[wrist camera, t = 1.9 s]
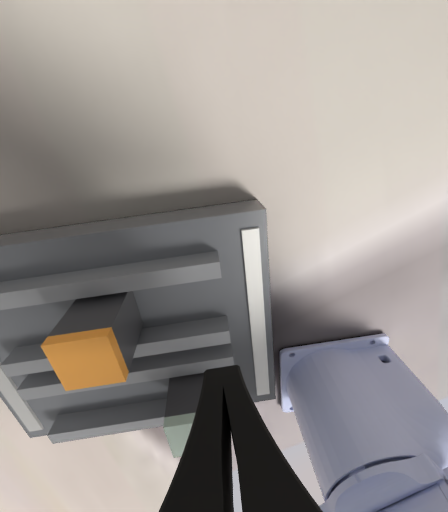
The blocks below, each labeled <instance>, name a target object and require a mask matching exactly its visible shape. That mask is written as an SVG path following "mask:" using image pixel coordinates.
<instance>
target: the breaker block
mask: <svg viewBox="0 0 448 512" xmlns="http://www.w3.org/2000/svg"><path fill="white" fill-rule="evenodd" d="M129 291H133V294H134V297H135V300H136V303H137V306H138V309H139V313H140V316H141V319H142V322H143V327H142V330H141V333H140V337H139V340H138V343H137V347H136V350H135V353H134V356H133V360H132V363H131V366H130V370H129V373H128V376H127V380H126V382H122V383H115V384H109V385H102V386H96V387H89V388H83V389H76V390H70V391H65V389H64V387H63V385H62V384H61V382H60V380H59V378H58V377H57V375H56V373H55V371H54V369H53V368H52V366H51V364H50V362H49V360H48V359H47V357H46V355H45V353H44V351H43V350H42V348H41V345H42V343H43V342H44V341H45V339H46V338H47V337H48V335H49V334H50V333H51V331H52V330H53V329H54V327H55V326H56V325H57V324H58V322H59V321H60V320H61V318H62V317H63V316H64V314H65V313H66V312H67V310H68V309H69V308H70V306H71V305H72V304H73V302H74V301H75V300H76V299H81V298H88V297H94V296H101V295H108V294H115V293H122V292H129ZM232 365H238V366H240V369H241V373H242V376H243V379H244V382H245V384H246V387H247V389H248V391H249V394H250V396H251V398H252V400H253V402H259V401H265V400H271V399H276V396H275V376H274V356H273V336H272V317H271V297H270V277H269V257H268V237H267V217H266V209H265V207H264V206H263V205H262V204H261V203H260V202H259V201H258V200H257V199H255V200H248V201H241V202H234V203H227V204H219V205H212V206H205V207H198V208H191V209H183V210H176V211H169V212H162V213H154V214H147V215H140V216H133V217H126V218H118V219H111V220H104V221H97V222H90V223H82V224H75V225H68V226H61V227H53V228H46V229H39V230H32V231H25V232H17V233H10V234H3V235H0V397H1V398H2V400H3V401H4V403H5V404H6V405H7V407H8V408H9V409H10V411H11V412H12V414H13V415H14V416H15V418H16V419H17V420H18V422H19V423H20V425H21V426H22V427H23V429H24V430H25V431H26V433H27V434H28V436H29V437H30V438H32V437H38V436H44V435H47V436H48V438H49V439H50V440H51V442H52V443H53V444H54V443H60V442H67V441H73V440H79V439H85V438H92V437H98V436H104V435H110V434H117V433H123V432H129V431H136V430H142V429H148V428H154V427H161V426H163V429H164V432H165V435H166V437H167V440H168V443H169V446H170V449H171V451H172V454H173V457H174V458H175V457H181V456H182V454H183V451H184V448H185V445H186V442H187V439H188V436H189V433H190V430H191V427H192V424H193V420H194V417H195V413H196V410H197V406H198V402H199V398H200V394H201V389H202V384H203V378H204V372H205V371H206V370H207V369H213V368H219V367H226V366H232Z"/></svg>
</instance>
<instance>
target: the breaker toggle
mask: <svg viewBox="0 0 448 512" xmlns="http://www.w3.org/2000/svg"><path fill="white" fill-rule="evenodd" d="M142 327H143V322H142V319H141V316H140V313H139V309H138V306H137V303H136V300H135V297H134V294H133V291H129V292H122V293H115V294H108V295H101V296H94V297H88V298H81V299H76V300H75V301H74V302H73V304H72V305H71V306H70V308H69V309H68V310H67V312H66V313H65V314H64V316H63V317H62V318H61V320H60V321H59V322H58V324H57V325H56V326H55V327H54V329H53V330H52V331H51V333H50V334H49V335H48V337H47V338H46V339H45V341H44V342H43V343H42V345H41V348H42V350H43V351H44V353H45V355H46V357H47V359H48V360H49V362H50V364H51V366H52V368H53V369H54V371H55V373H56V375H57V377H58V378H59V380H60V382H61V384H62V385H63V387H64V389H65V391H70V390H76V389H83V388H89V387H96V386H102V385H109V384H115V383H122V382H126V380H127V376H128V373H129V370H130V366H131V363H132V360H133V356H134V353H135V350H136V347H137V343H138V340H139V337H140V333H141V330H142Z"/></svg>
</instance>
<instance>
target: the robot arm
mask: <svg viewBox="0 0 448 512" xmlns="http://www.w3.org/2000/svg"><path fill="white" fill-rule="evenodd" d="M388 343H389V337H388V336H387V335H386V334H376V335H370V336H363V337H357V338H350V339H344V340H337V341H331V342H324V343H318V344H311V345H305V346H298V347H292V348H285V349H282V350H281V351H280V353H279V360H280V387H281V408H282V411H283V412H293V411H294V413H295V416H296V419H297V422H298V425H299V428H300V430H301V433H302V436H303V439H304V442H305V445H306V448H307V451H308V454H309V457H310V460H311V463H312V465H313V469H314V472H315V474H316V477H317V480H318V483H319V486H320V489H321V492H322V495H323V497H324V501H325V503H323V504H322V505H320V506H318V505H317V503H316V502H315V501H314V499H313V498H312V497H311V495H310V494H309V493H308V491H307V490H306V488H305V487H304V485H303V484H302V482H301V481H300V480H299V478H298V477H297V475H296V474H295V472H294V471H293V469H292V468H291V466H290V465H289V463H288V462H287V460H286V459H285V457H284V455H283V454H282V452H281V451H280V449H279V447H278V446H277V444H276V442H275V441H274V439H273V437H272V436H271V434H270V432H269V431H268V429H267V427H266V425H265V423H264V422H263V420H262V418H261V416H260V414H259V412H258V410H257V408H256V406H255V404H254V402H253V400H252V398H251V396H250V394H249V391H248V389H247V387H246V384H245V382H244V379H243V376H242V373H241V369H240V366H238V365H232V366H226V367H219V368H213V369H207V370H206V371H205V372H204V378H203V384H202V389H201V394H200V398H199V402H198V406H197V410H196V413H195V417H194V420H193V424H192V427H191V430H190V433H189V436H188V439H187V442H186V445H185V448H184V451H183V454H182V457H181V459H180V462H179V465H178V467H177V470H176V472H175V475H174V477H173V480H172V482H171V485H170V487H169V490H168V492H167V494H166V497H165V499H164V501H163V503H162V506H161V508H160V510H159V512H234V508H233V483H232V451H231V433H232V439H233V444H234V449H235V454H236V459H237V465H238V474H239V483H240V492H241V502H242V511H243V512H448V413H447V412H446V410H445V409H444V407H443V406H442V405H441V404H440V403H439V401H438V400H437V399H436V398H435V397H434V396H433V395H432V394H431V392H430V391H429V390H428V389H427V388H426V387H425V386H424V385H423V383H422V382H421V381H420V380H419V379H418V378H417V377H416V376H415V375H414V373H413V372H412V371H411V370H410V369H409V368H408V367H407V366H406V365H405V363H404V362H403V361H402V360H401V359H400V358H399V357H398V356H397V354H396V353H395V352H394V351H393V350H392V349H391V348H390V347H389V346H388ZM290 353H292V354H290Z"/></svg>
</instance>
